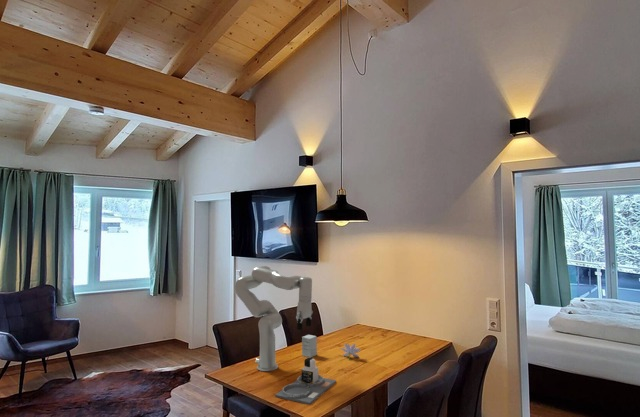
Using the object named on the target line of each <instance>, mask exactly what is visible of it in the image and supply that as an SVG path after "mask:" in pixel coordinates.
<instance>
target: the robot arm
mask: <svg viewBox="0 0 640 417" xmlns="http://www.w3.org/2000/svg"><path fill="white" fill-rule="evenodd" d="M263 283H266V284H271V285H273V286H274V287H276V288H277V289H282V290H285V291H292V290H295V289H298V302H297V308H296V316H295V319H296V323H297V324H296V325H297V328H296V329H297V330H300V331H302V330H303V321H304V320H305V326H307V327H311V326H312V319H313V318H312V317H313V313H314V310H312V297H313V296H312V294H313V293H312V292H313V288H312V287H313V279H312V278H311V277H309V276H307V277H306V276H301V275H292V276H284V275H280V274H279V272H278V271H277V270H274V269H271V267H269V266H267V265H261V266H256V267H255V268H253V269H252V271H251V275H244V276H241V277H239V278H238V279H236V281H235V284H234V291H235V293H236V296H237V297H238V298H239V299H240V300H241V302H242V304H244V305H245V307H246V308H247V310H248V311H249V312H250V314H251V315H252V316H253V317H254V318H260V319H259V321H258V323H257V324H258V332H259V358H255V361H254V363H255V364H257V366H256V369H257V370H259V371H260V372H272V371H275V370H277V369H278V367H279V365H278V363H276V334H275V331H274V330H275V329H278V328H279V327H281V326H282V324H283V318H282V316H281V313H280V312H278V310H277V308H276V307H275V306H274V305H273V304H272V303H271V302H270V300H267V299H261V300H260V299H259V298H258V297H257V296H256V294H255V293H253V292H252V291H250V290H252V289H255V288H257V287H259V286H260V285H262V284H263Z"/></svg>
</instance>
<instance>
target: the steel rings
mask: <svg viewBox="0 0 640 417" xmlns="http://www.w3.org/2000/svg"><path fill="white" fill-rule="evenodd" d="M318 378H319V379H321V381H320V382H317V383H310V384H307V383H302V382H300V381H299V380H300V379H301V375H299V376H298V377H297V379H296V380H297V383H293V382H292V383H293V384H291V383H289V384H286V385H284V386H283V387H282V390H283V395H285V396H286V397H290V398H302V397H305V396H307V395H309V394H310V387H315V386H319V385H321V384H322V383H323V378H324V377H323V376H322V375H320V374H318ZM291 387H304V388H307V389H308V390H309V391H307V392H306V393H303V394H289V393H286V392H285V391H284V390H286V389H287V388H291Z"/></svg>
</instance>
